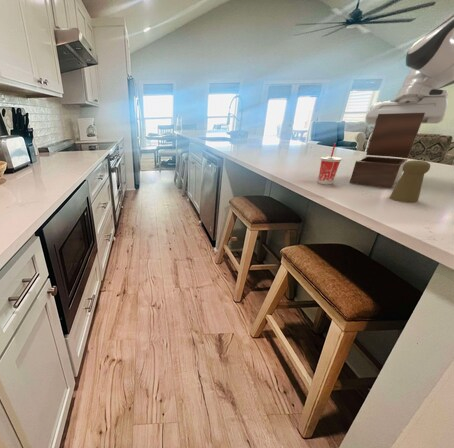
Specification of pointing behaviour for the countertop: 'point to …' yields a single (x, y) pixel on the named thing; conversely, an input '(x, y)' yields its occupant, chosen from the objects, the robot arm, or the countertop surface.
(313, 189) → the countertop surface
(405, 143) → the lid
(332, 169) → the beverage cup
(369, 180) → the chest
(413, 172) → the cork
